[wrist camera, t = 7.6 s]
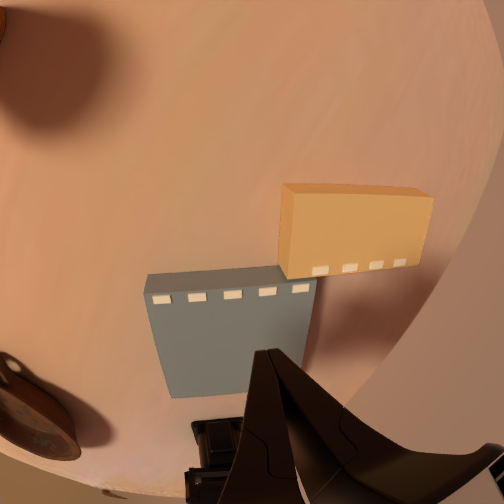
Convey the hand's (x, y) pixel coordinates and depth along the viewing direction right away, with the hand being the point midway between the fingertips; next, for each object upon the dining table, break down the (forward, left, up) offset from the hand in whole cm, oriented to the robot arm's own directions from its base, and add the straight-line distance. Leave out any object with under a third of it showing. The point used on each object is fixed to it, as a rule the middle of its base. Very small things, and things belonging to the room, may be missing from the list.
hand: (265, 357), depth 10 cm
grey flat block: (-9, 0, -12) cm, 15 cm away
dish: (-22, +28, -12) cm, 38 cm away
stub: (0, -10, -12) cm, 15 cm away
